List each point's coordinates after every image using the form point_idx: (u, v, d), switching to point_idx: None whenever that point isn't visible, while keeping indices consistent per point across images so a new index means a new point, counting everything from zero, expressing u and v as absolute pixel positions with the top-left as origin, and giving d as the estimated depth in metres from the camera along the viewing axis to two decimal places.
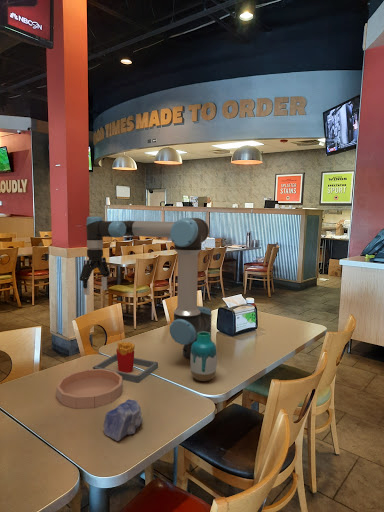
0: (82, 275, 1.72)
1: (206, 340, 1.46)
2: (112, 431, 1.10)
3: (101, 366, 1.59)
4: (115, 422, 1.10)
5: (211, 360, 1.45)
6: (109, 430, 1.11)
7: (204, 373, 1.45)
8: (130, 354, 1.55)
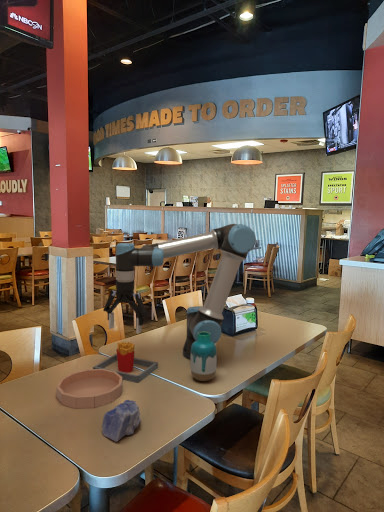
0: None
1: (206, 340, 1.46)
2: (110, 431, 1.10)
3: (101, 366, 1.59)
4: (114, 422, 1.10)
5: (211, 360, 1.45)
6: (108, 431, 1.11)
7: (204, 373, 1.45)
8: (130, 354, 1.55)
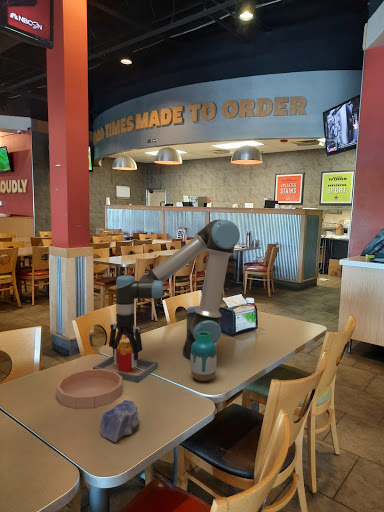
0: None
1: (206, 340, 1.46)
2: (109, 432, 1.10)
3: (101, 366, 1.59)
4: (112, 423, 1.10)
5: (211, 360, 1.45)
6: (106, 431, 1.10)
7: (204, 373, 1.45)
8: (130, 354, 1.55)
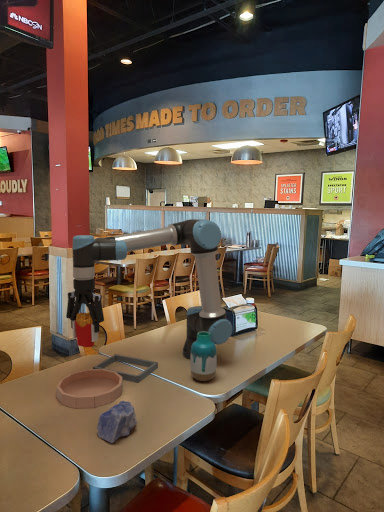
0: None
1: (206, 340, 1.46)
2: (106, 433, 1.09)
3: (101, 366, 1.59)
4: (109, 424, 1.09)
5: (211, 360, 1.45)
6: (103, 432, 1.10)
7: (204, 373, 1.45)
8: (90, 326, 1.34)
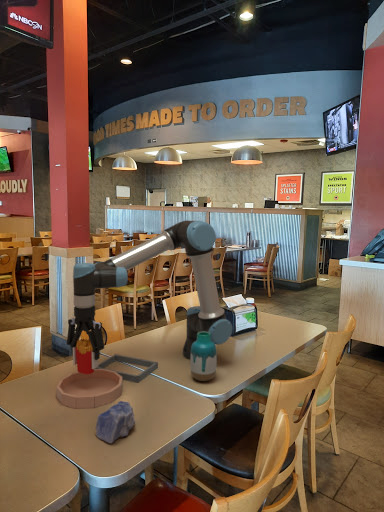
0: None
1: (206, 340, 1.46)
2: (104, 433, 1.09)
3: (101, 366, 1.59)
4: (108, 424, 1.09)
5: (211, 360, 1.45)
6: (102, 432, 1.10)
7: (204, 373, 1.45)
8: (90, 353, 1.35)
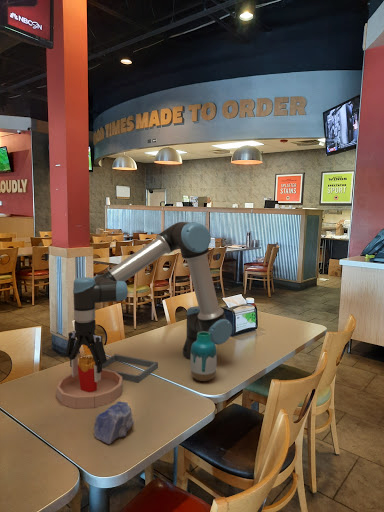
0: None
1: (206, 340, 1.46)
2: (103, 434, 1.09)
3: None
4: (106, 425, 1.09)
5: (211, 360, 1.45)
6: (100, 433, 1.09)
7: (204, 373, 1.45)
8: (92, 370, 1.35)
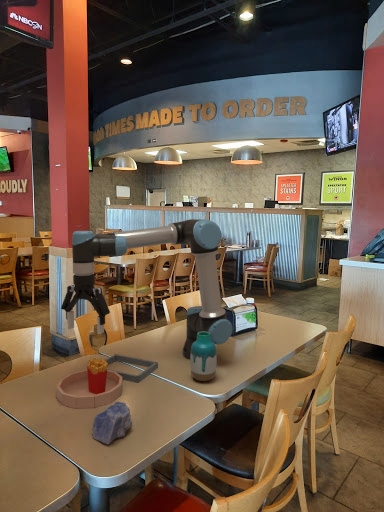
0: None
1: (206, 340, 1.46)
2: (101, 434, 1.08)
3: None
4: (105, 425, 1.08)
5: (211, 360, 1.45)
6: (99, 433, 1.09)
7: (204, 373, 1.45)
8: (102, 374, 1.33)
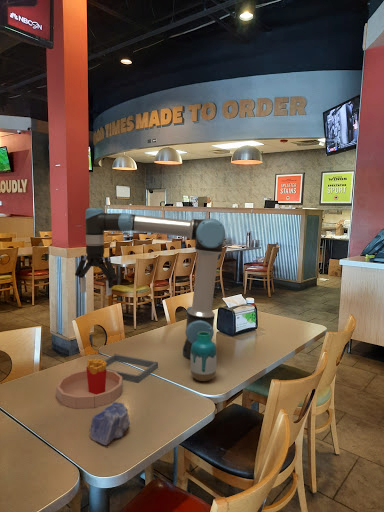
0: None
1: (206, 340, 1.46)
2: (99, 435, 1.08)
3: None
4: (103, 426, 1.08)
5: (211, 360, 1.45)
6: (96, 434, 1.09)
7: (204, 373, 1.45)
8: (101, 373, 1.34)
